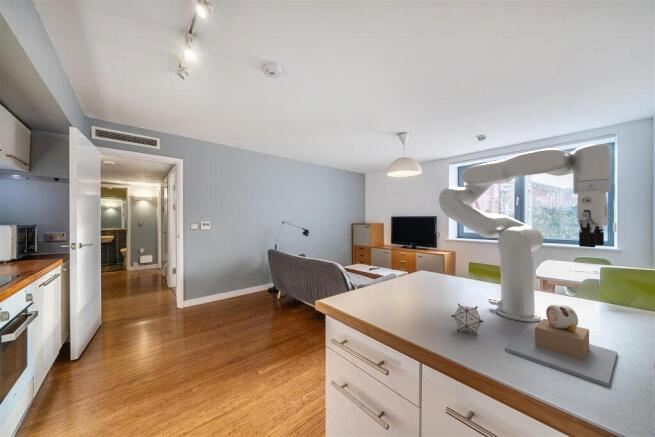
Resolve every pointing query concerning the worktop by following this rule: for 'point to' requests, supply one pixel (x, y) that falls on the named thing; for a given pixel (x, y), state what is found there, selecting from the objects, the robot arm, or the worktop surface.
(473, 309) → the white geodesic ball toy
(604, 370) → the tower base
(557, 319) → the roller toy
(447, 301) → the worktop surface
